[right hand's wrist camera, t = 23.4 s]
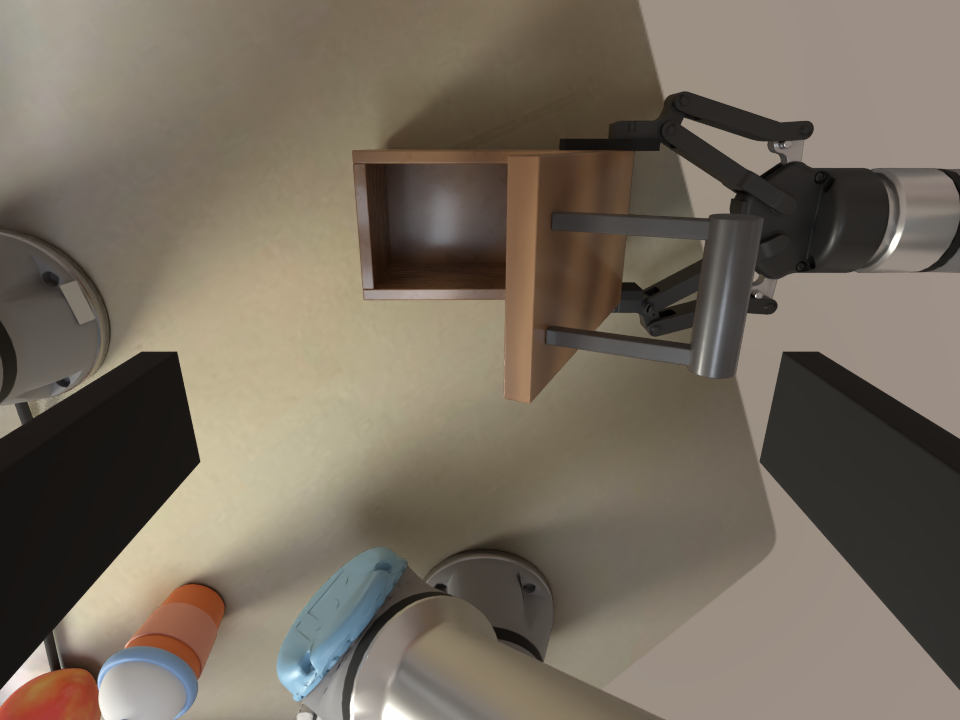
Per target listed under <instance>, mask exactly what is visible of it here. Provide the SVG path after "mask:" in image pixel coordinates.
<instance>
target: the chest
mask: <svg viewBox="0 0 960 720" xmlns="http://www.w3.org/2000/svg"><path fill="white" fill-rule="evenodd" d="M595 151H619V150H559V149H369V150H353V151H352V156H353V163H354V164H353V170H354V183H355V196H356V209H357V222H358V235H359V248H360V261H361V274H362V286H363V298H364V300H505V295H506V239H507V184H508V156H509V155H525V154H549V153H572V152H595Z"/></svg>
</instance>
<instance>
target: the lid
mask: <svg viewBox="0 0 960 720" xmlns="http://www.w3.org/2000/svg"><path fill="white" fill-rule="evenodd" d="M633 161H634V151H595V152H572V153H549V154H525V155H509V156H508V184H507V239H506V295H505V351H504V398H505V399H510V400H515V401H520V402H525V403H531V402H532V401H533V400H534V399H535V397H536V396H537V395H538V394H539V393H540V392H541V391H542V390H543V388H544V387H545V386H546V385H547V384H548V383H549V382H550V381H551V379H552V378H553V377H554V376H555V375H556V374H557V373H558V372H559V370H560V369H561V368H562V367H563V366H564V365H565V364H566V363H567V362H568V360H569V359H570V358H571V357H572V356H573V355H574V354H575V353H576V351H577V350H578V349H581V350H587V351H594V352H601V353H607V354H614V355H621V356H627V357H634V358H640V359H647V360H654V361H660V362H667V363H673V364H680V365H687V368H688V370H689V371H691V372H692V373H694V374H697V375H700V376H703V377H708V378H716V379H724V378H730V377H733V376H734V375H735V374H736V370H737V365H738V359H739V354H740V348H741V343H742V337H743V332H744V326H745V321H746V315H747V310H748V304H749V299H750V293H751V288H752V282H753V277H754V271H755V266H756V260H757V255H758V249H759V244H760V238H761V233H762V227H763V222H764V218H763V217H760V216H754V215H745V214H713V215H710V216H709V219H708V218H688V217H669V216H649V215H629V203H630V193H631V182H632V172H633ZM626 235H635V236H650V237H665V238H680V239H696V240H705V247H704V254H703V260H702V267H701V274H700V281H699V288H698V295H697V301H696V308H695V315H694V322H693V329H692V335H691V342H690V344H685V343H678V342H671V341H663V340H656V339H649V338H641V337H634V336H627V335H619V334H612V333H605V332H597V331H595V330H596V329H597V328H598V327H599V326H600V324H601V323H602V322H603V321H604V320H605V319H606V318H607V317H608V315H609V314H610V313H611V312H612V311H613V310H614V309H615V308H616V307H617V305H618V304H619V303H620V298H621V287H622V277H623V266H624V256H625V245H626Z"/></svg>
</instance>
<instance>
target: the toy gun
mask: <svg viewBox="0 0 960 720" xmlns="http://www.w3.org/2000/svg"><path fill="white" fill-rule="evenodd" d="M296 720H322V719H321V718H320V717H319V716H318V715H317V714H316V713H314V712H313V711H312V710H311V709H310V708H309V707H307V706H306V705H305V704H304V703H303V702H302V703H301V706H300V708H299V711H298V713H297V717H296Z"/></svg>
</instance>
